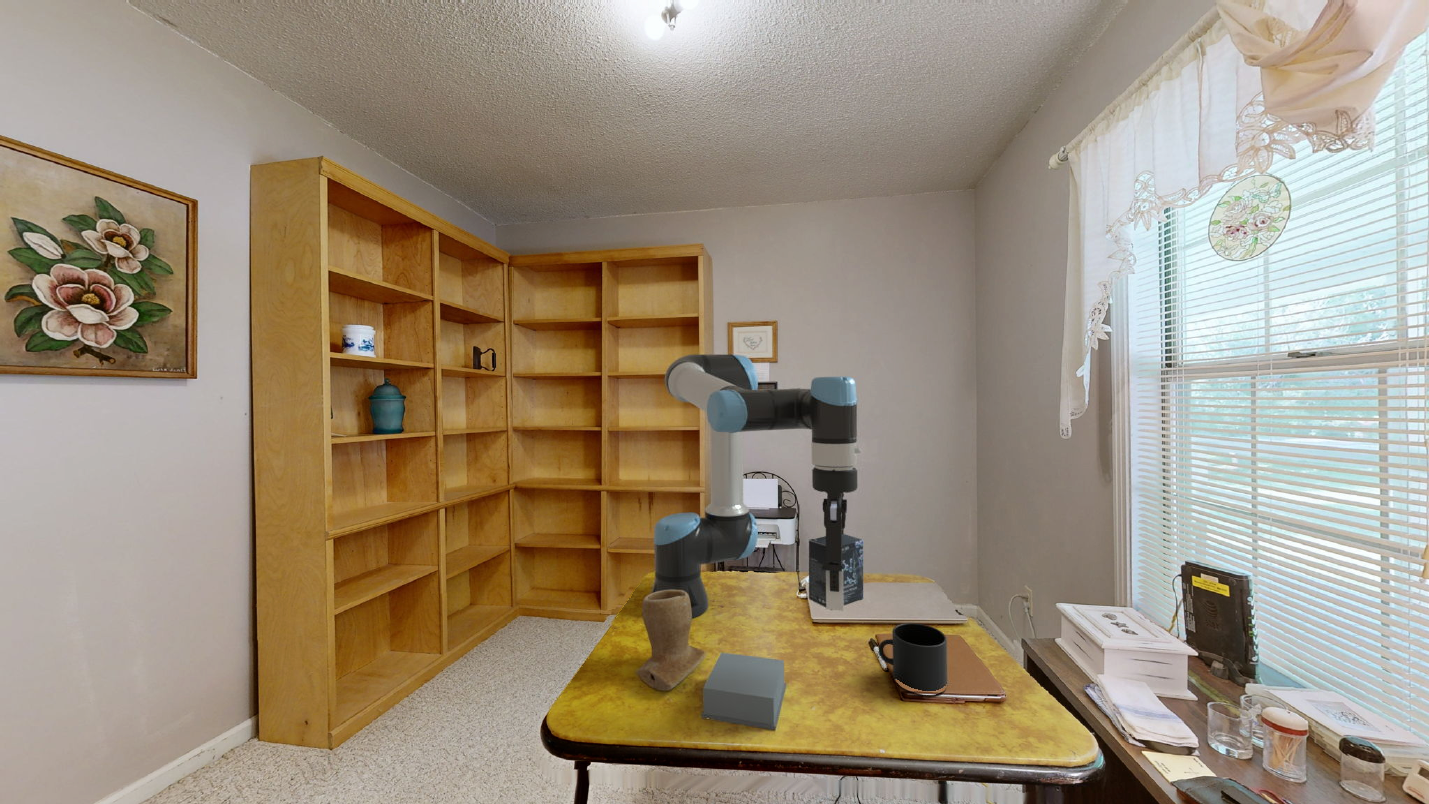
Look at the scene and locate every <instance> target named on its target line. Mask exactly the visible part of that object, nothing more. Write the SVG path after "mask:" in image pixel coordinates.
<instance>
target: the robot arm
mask: <svg viewBox="0 0 1429 804" xmlns="http://www.w3.org/2000/svg"><path fill="white" fill-rule="evenodd" d="M758 380H759V379H758V373H757V370H756V368H755V365H754V364H753V362H752V360H751V359H750V358H749V357H747V356H746V355H740V354H733V353H729V354H698V353H697V354H696V353H694V354H687V355H684V356H682V357H679V358H678V359H676V360H674V361H673V362H672V363H671V364H670V365H669V366H668V368H667V369H666V372H665V375H664V384H665V388H666V390H667V392H668V393H669V395H671V396H672V397H673V398H674V399H676V400H677V401H680V402H682V403H691V404H692V405H694V407H695V406H696V408H698V409H700V410H702V411H703V412H704V413H706V417H707V421H708V423H709V426H710V503H709V504H708V505H707V506H706V507H705V509H704V510H705V511H704V516H703V517H700V515H699V514H698V513H696V512H692V511H691V512H679V513H673V514H670V515H667V516H664V517H662V518H661V519H659V520H658V521H656V523H655V525H654V532H653V533H654V537H653V543H654V544H653V545H654V546H653V548H654V581H653V585H652V588H651V592H650V594H651V593H654V592H657V591H663V590H683V591H685V592H687V594H688V595H689V598H690V603H691V611H692V619H694V618H697V617H699V616H701V615H703V614H705V613H706V611H708V608H709V597H708V594H707V591H706V589H705V586H704V583H703V579H702V577H701V575H702V574H701V566H702V565H707V564H714V563H719V562H729V561H737V560H740V559H744V558H748V557H750V556H751V555H752V553H754V551H755V549H756V546H757V543H758V535H759V533H758V526H757V520H756V518H755V515H753V514H752V513H751V512H750V508H749V507H748V506H747V505H746V504H745V503H744V433H745V432H757V431H758V432H760V431H780V430H782V431H783V430H797V429H798V430H801V429H802V430H811V464H812V465H813V466H814V467H813V468H812V472H811V473H812V475H811V476H812V477H811V481H812V488H813V489H814V490H815V491H817V492H820V493H825V494H826V495H827V498H823V501H822V512H823V526H824V528H825V536H826V564H825V566H822V570H826V608H825V609H826V610H830V611H844V610H845V609H844V606H845V605H844V604H843V566H842V534H845V533H844V531H845V528H846V519H847V518H846V517H847V513H848V512H847V511H848V500H847V499H844V497H845V493H846V494H848V493H853V492H855V491H856V490H857V489H858V469H856V465H857V464H858V459H857V458H858V457H857V454H860V453H861V452H862V451H861V450H862V449H861V448H860V447H857V441H858V439H857V438H858V432H857V431H858V425H857V421H858V410H857V409H858V408H857V407H858V397H857V388H856V381H855V379H854V378H853V377H851V376H819V377H818V376H817V377H814V378H813V379H811V384H810V388H782V389H780V388H779V389H758V385H759V383H758V382H759V381H758ZM830 562H837V563H830Z"/></svg>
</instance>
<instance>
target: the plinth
mask: <svg viewBox="0 0 1429 804" xmlns="http://www.w3.org/2000/svg"><path fill="white" fill-rule="evenodd" d="M786 688H787V683H786V682H785V660H783V659H776V658H768V657H761V656H753V655H744V654H737V653H729V652H721V653H720V655H719V656H718V658H717V660H716V662H715V663H714V666H713V668H712V670H711V672H710V674H709V675H708V678H707V680H706V681H705V683H704V685H703V687H702V693H703V694H702V701H703V703H702V704H703V706H702V708H703V710H702V712H701V714H700V715H701V717H702V718H701V719H705V718H709V719H708V720H711V719H713V720H712V721H718V722H724V723H729V724H735V725H741V726H747V727H752V728H753V727H754V728H759V729H760V728H761V729H767V730H771V731H776V729H777V725H778V721H779V717H780V713H781V709H782V705H783V701H784V696H785V693H786Z"/></svg>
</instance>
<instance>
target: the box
mask: <svg viewBox="0 0 1429 804" xmlns="http://www.w3.org/2000/svg"><path fill="white" fill-rule="evenodd" d="M830 563H837V562H830ZM825 564H826V535H824V536H821V537H817V538H811V539H809V540H808V600H810V601H812V602H814V604H815V603H816V604H817V605H818V606H819V605H820V606H822V607H824V608H825V609H826V570H822V566H825ZM842 566H843V604H844V606H847V605H849V604H853V603H855V602H858V601H862V600H864V540H863V539H861V538H858V537H855V536H852V535H848V534H845V533H844V534H842Z"/></svg>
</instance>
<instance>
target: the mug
mask: <svg viewBox="0 0 1429 804" xmlns="http://www.w3.org/2000/svg"><path fill="white" fill-rule="evenodd" d="M891 633H892V637H891V638H890V639H887V638H886V639H884V640H882V641H881V642H880V644H879V646H878V654H879V656H880V658H881V659H882V660H883V661H884V662H886V663H887V664H889V665H891V666H892V677H893V680H894V681H895V679H897V680H899V681H900V682H902V683H903V684H905V685H907V686H909V687H911V688H914V689H918V690H922V691H936V690H939V689H941V688H943V687H944V686H946V684H947V685H948V639H947V636H946V635H945V633H943V632H942V631H941V630H939V629H938V628H935V627H933V626H930V625H927V624H923V623H916V622H915V623H914V622H905V623H899V624H897V625H895V626H894V627H893V629H892V632H891ZM887 645H890V646H892V658H891V657H888V656H887V655H886V653H884V648H885V646H887Z"/></svg>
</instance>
